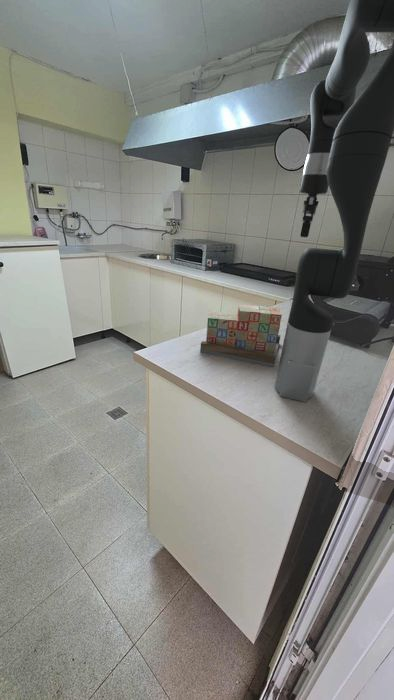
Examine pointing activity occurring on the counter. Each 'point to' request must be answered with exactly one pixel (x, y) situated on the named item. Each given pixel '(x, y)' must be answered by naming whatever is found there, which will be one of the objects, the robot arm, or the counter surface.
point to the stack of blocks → (245, 328)
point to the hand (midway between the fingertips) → (304, 236)
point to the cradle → (241, 353)
